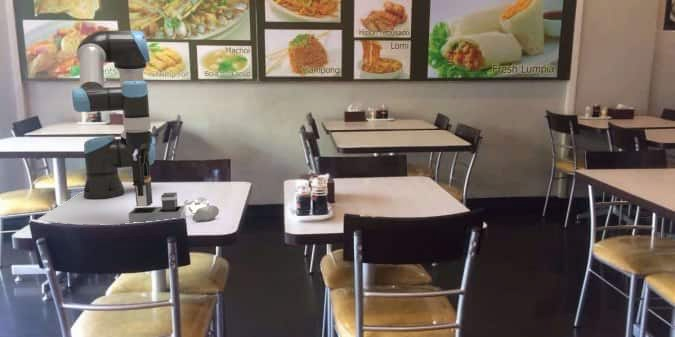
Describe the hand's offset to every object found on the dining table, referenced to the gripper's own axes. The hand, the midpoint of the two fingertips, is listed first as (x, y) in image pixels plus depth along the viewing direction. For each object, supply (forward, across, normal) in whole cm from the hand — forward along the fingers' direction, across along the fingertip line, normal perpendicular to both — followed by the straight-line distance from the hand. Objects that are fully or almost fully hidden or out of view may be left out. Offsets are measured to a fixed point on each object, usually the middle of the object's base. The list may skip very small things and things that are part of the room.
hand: (144, 203), depth 182 cm
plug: (0, 0, 0) cm, 0 cm away
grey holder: (+7, 0, +4) cm, 8 cm away
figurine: (+8, -7, +17) cm, 20 cm away
